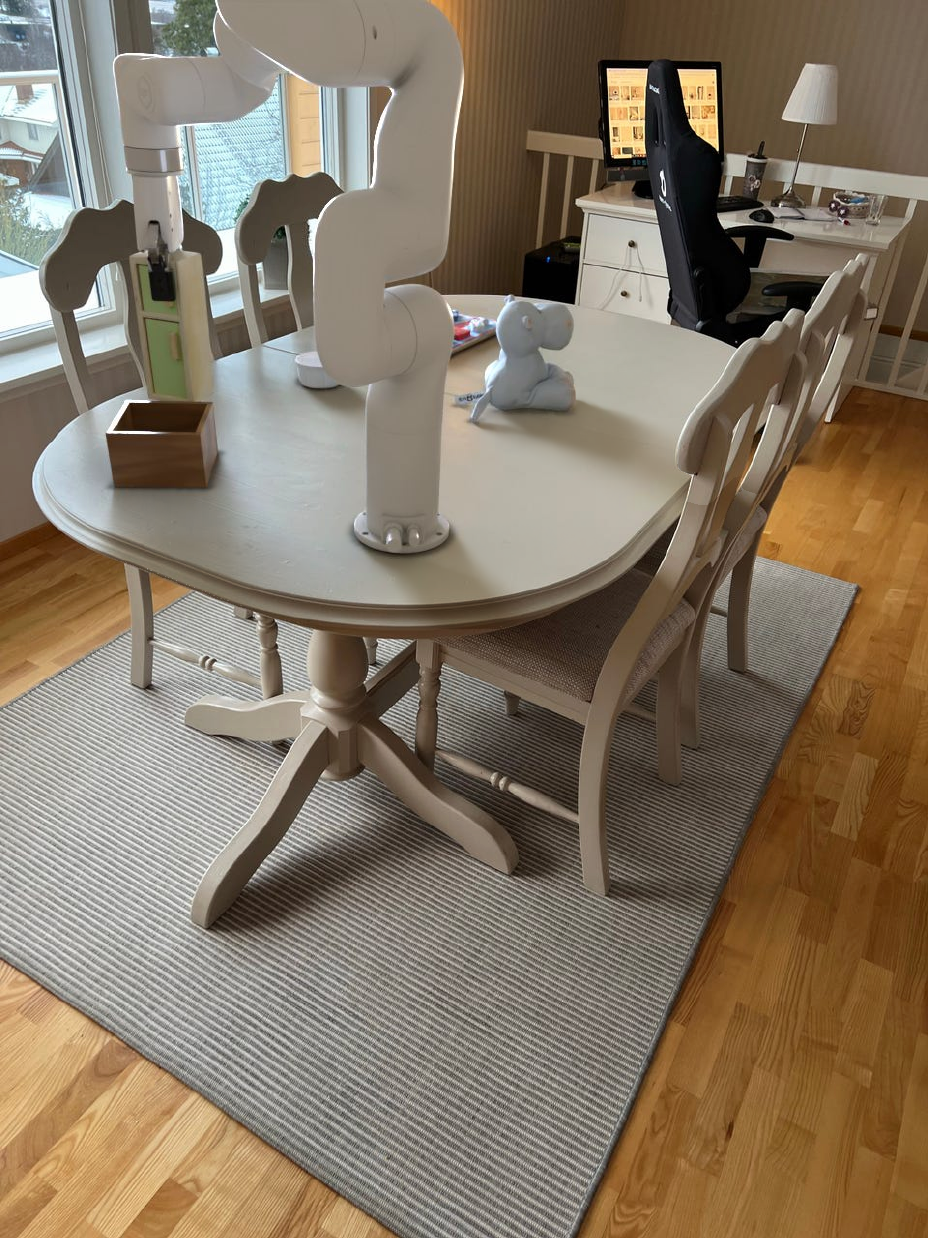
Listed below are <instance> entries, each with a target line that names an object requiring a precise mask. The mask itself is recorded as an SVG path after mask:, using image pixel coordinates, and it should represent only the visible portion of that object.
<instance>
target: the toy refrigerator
mask: <svg viewBox="0 0 928 1238" xmlns="http://www.w3.org/2000/svg"><path fill="white" fill-rule="evenodd" d="M162 257H163V258H164V256H162ZM147 258H148V251H146V252H145V253H141V252H140V251H139V252H137V253H134V254H131V255H129V258H128V260H129V267H130V273H131V275H130V276H131V282H132V289H133V297H134V304H135V310H136V319H137V324H138V325H137V327H138V334H139V342H140V348H141V355H142V362H143V370H144V377H145V385H146V386H145V387H146V392H147V398H148V399H149V400H152V401H189V402H204V400H206V399H208V398H209V397H211V396H212V395H213V394H214V393H215V384H214V383H215V382H214V374H213V361H212V354H211V342H210V341H211V340H210V332H209V331H210V330H209V321H208V311H207V300H206V290H205V289H206V288H205V279H204V268H203V258H202V254H201V252H195V251H187V250H182V251H180V250H175V251H174V252H173V253H172V254H170V271H173V280H174V289H175V301H173V302H167V301H153V300H152V298H151V290H150V282H149V274H148V260H147ZM163 260H164V259H163Z"/></svg>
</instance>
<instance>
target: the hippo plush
mask: <svg viewBox="0 0 928 1238" xmlns="http://www.w3.org/2000/svg"><path fill="white" fill-rule="evenodd" d="M504 304H505V306H503V308H502V309H501V311H500V313H499V315H498V317H497V320H496V321H497V323H496V334H495V335H496V338H497V341H498V344H499V346H500V351H499V357H498V359H496V360H494V361H493V362H491V363H490V364H489V365H488V366H487V368H486V369H485V372H484V383H485V391H475V392H469V393H465V394H461V395H460V394H459V395H457V394H454V400H455V406H464V405H470V404H474V403H475V405H474V408H473V410H472V412H471V415H470V417H469V420H470V421H471V422H476V421H477V420H478V419H479V418H480V417H481V415H482V414H483V413H484V411H485V410H486V408H487V407H488V405H489V404H490V406H492V407H494V408H495V409H499V410H502V411H509V410H516V409H535V410H548V411H553V412H564V413H565V412H570V411H571V410H572V409H573V407H574V405H575V404H576V401H577V391H576V388H575V379H574V376H573V374H572V373H571V372H569V371H567V370H564V369H563V368H562V367H560V366H559V365H558V364H555V363H553V362H548V361H545V359H544V357H543V354H542V353H541V352H540V350H539V349H540V348H541V349H545V350H550V351H555V352H556V351H558V352H559V351H562V350H564V349H565V348H566V347H568V345H570V342H571V340H572V338H573V334H574V329H575V321H574V317H573V314H572V312H571V310H569V308H568V307H567V305H565V304H562V303H557V302H537V303H532V302H529V301H525V300H516V297H515V295H514V294H509V295H507V296H506V297H505V298H504Z"/></svg>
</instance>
